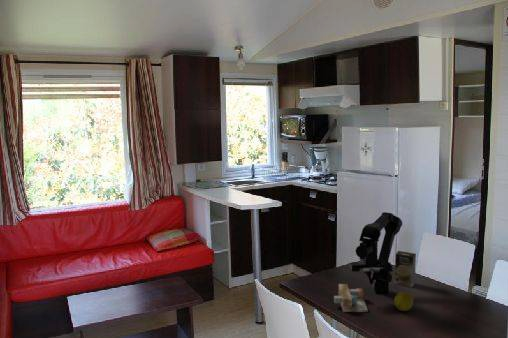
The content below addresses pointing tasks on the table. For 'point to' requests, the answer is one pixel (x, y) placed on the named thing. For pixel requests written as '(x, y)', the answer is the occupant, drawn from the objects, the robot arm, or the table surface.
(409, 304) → the lemon
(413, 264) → the coffee box
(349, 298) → the mount
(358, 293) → the terracotta knob
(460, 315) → the table surface
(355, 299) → the teal knob
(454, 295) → the table surface
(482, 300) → the table surface
